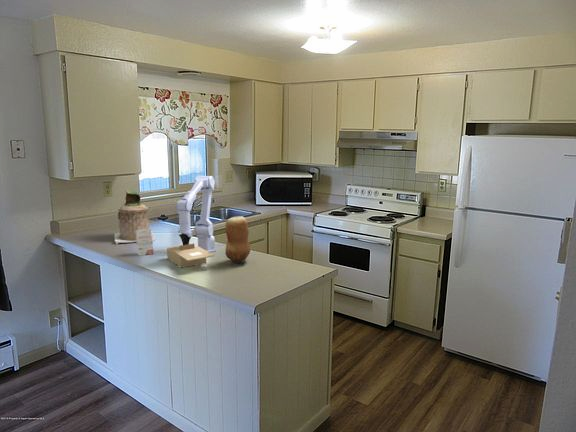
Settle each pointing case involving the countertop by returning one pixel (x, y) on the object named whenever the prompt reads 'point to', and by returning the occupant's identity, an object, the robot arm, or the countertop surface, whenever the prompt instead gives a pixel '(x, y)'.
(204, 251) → the mailer lid
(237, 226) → the butternut squash
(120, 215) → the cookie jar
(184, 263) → the mailer box
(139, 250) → the ink cartridge box
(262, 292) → the countertop surface
